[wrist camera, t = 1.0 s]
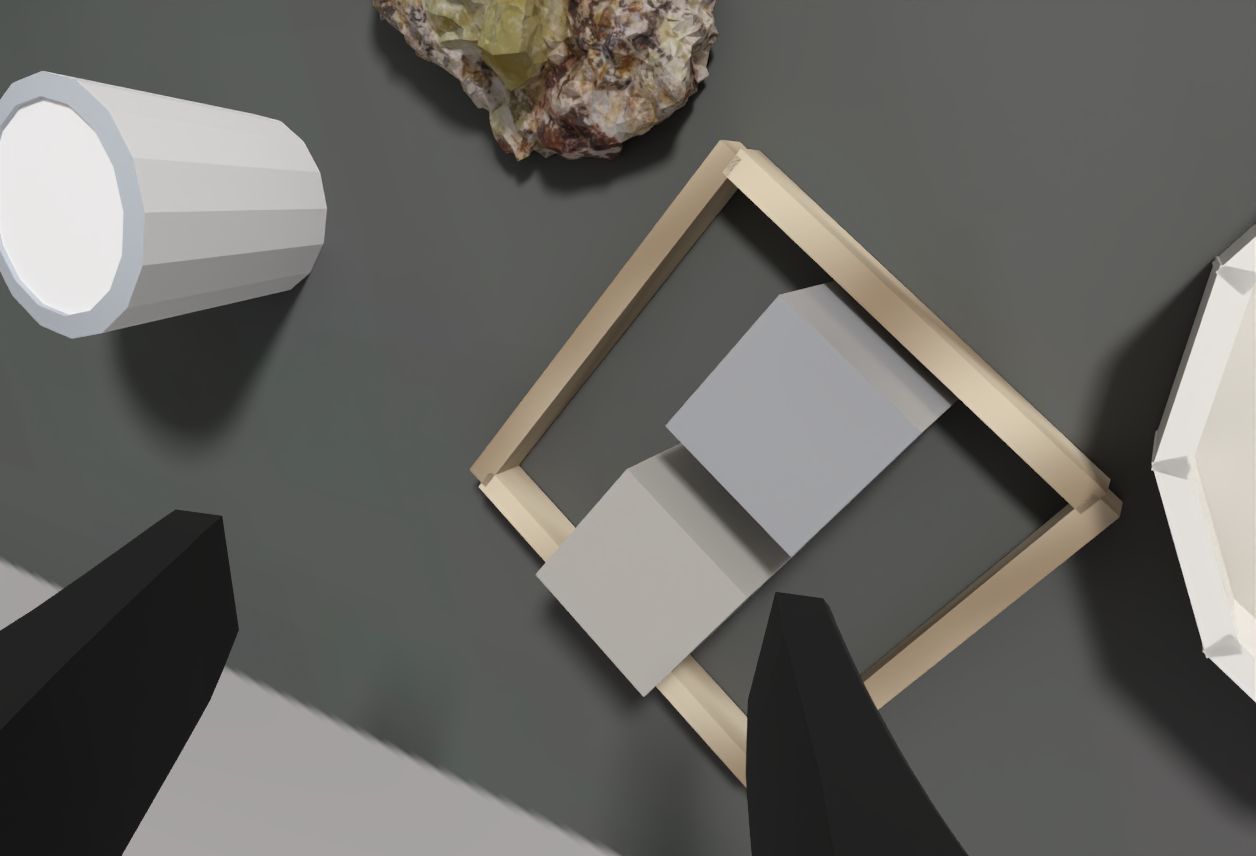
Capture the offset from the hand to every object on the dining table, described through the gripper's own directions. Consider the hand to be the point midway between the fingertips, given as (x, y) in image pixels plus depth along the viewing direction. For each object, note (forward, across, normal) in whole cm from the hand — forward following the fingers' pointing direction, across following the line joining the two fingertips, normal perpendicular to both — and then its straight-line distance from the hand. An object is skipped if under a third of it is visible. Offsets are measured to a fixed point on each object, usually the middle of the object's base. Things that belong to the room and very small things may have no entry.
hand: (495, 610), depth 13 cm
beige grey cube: (+12, -4, +8) cm, 15 cm away
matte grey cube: (+12, -6, +3) cm, 14 cm away
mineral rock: (+19, +2, -4) cm, 19 cm away
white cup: (+21, +11, +4) cm, 24 cm away
